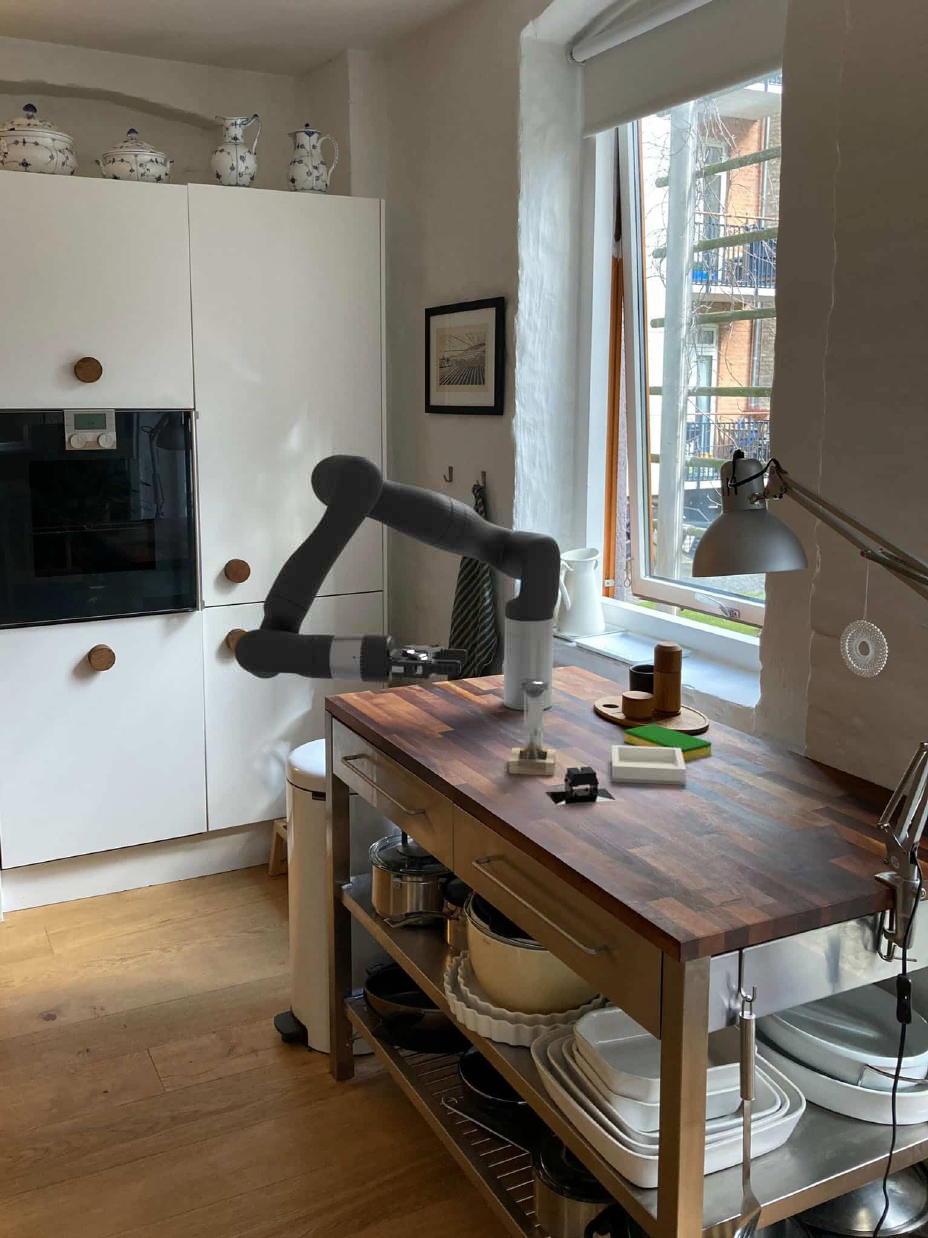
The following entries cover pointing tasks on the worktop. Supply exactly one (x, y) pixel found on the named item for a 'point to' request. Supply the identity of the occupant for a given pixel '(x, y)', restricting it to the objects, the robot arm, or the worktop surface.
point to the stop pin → (533, 717)
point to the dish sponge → (668, 740)
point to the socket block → (532, 762)
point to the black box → (580, 795)
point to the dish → (648, 765)
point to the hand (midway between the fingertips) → (463, 662)
